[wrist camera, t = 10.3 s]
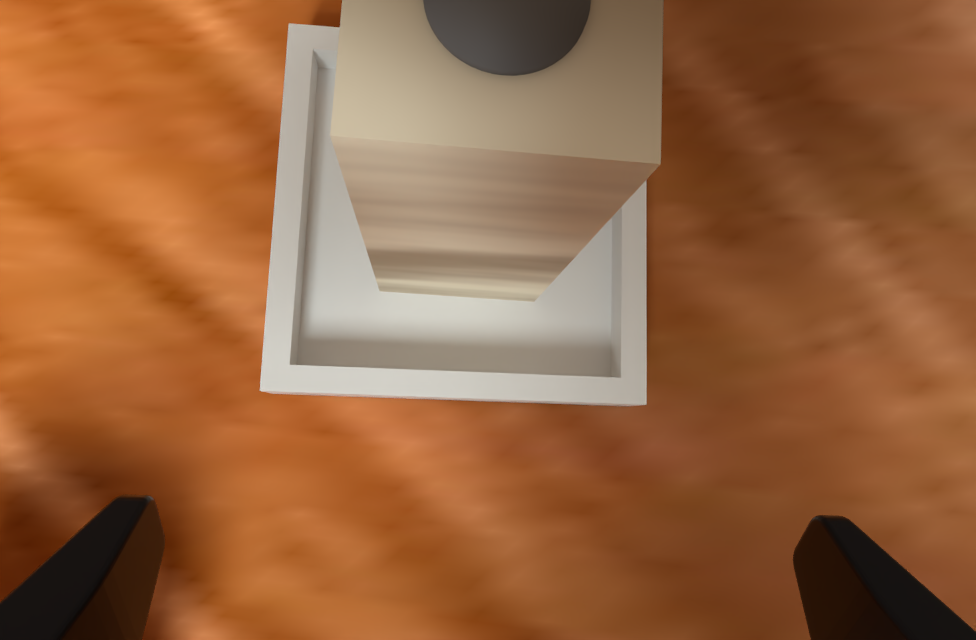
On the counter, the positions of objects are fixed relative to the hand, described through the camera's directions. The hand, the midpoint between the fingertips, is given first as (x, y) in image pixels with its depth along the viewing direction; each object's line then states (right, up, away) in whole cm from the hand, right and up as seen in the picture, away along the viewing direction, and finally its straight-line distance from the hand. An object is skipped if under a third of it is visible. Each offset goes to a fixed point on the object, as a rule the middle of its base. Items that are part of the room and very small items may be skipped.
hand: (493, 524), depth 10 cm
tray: (-1, +6, +14) cm, 16 cm away
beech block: (-1, +6, +14) cm, 15 cm away
